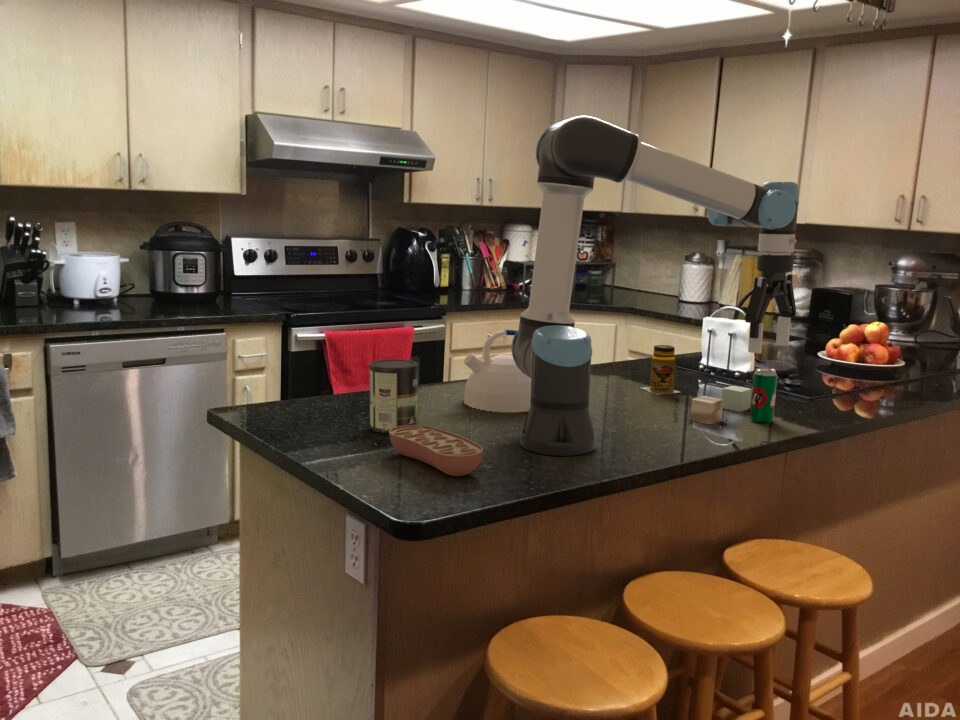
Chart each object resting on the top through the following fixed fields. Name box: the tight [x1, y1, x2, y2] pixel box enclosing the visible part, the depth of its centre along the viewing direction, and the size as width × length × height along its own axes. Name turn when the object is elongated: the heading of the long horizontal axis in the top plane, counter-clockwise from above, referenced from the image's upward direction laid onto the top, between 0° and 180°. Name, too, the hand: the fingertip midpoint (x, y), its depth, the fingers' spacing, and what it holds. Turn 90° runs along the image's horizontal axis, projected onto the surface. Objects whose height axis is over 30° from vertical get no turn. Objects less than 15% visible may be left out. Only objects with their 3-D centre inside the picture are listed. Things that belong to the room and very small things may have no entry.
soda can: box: [749, 367, 778, 424], centre depth 190 cm, size 5×5×12 cm
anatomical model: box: [388, 424, 484, 477], centre depth 155 cm, size 23×10×5 cm, turn 39°
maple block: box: [689, 395, 723, 425], centre depth 190 cm, size 5×5×5 cm
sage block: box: [721, 385, 752, 413], centre depth 202 cm, size 5×5×5 cm
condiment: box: [641, 344, 680, 395], centre depth 220 cm, size 7×8×12 cm
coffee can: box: [368, 358, 419, 431], centre depth 178 cm, size 10×10×14 cm
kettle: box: [463, 329, 531, 414], centre depth 202 cm, size 20×21×18 cm
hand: (768, 349), depth 188 cm, fingers open, 13 cm apart
